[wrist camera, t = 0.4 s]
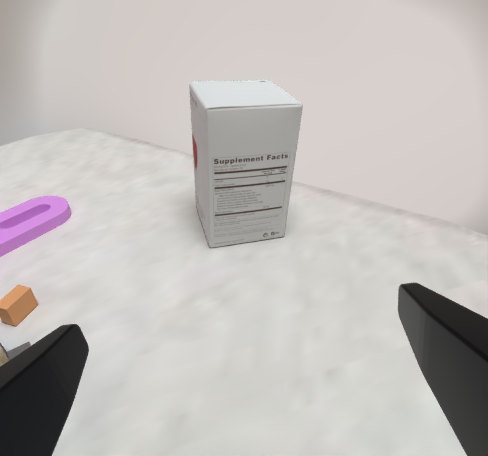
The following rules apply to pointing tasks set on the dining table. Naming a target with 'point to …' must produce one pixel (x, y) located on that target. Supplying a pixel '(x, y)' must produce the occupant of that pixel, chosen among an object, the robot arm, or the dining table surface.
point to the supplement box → (243, 158)
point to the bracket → (31, 221)
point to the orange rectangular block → (17, 305)
